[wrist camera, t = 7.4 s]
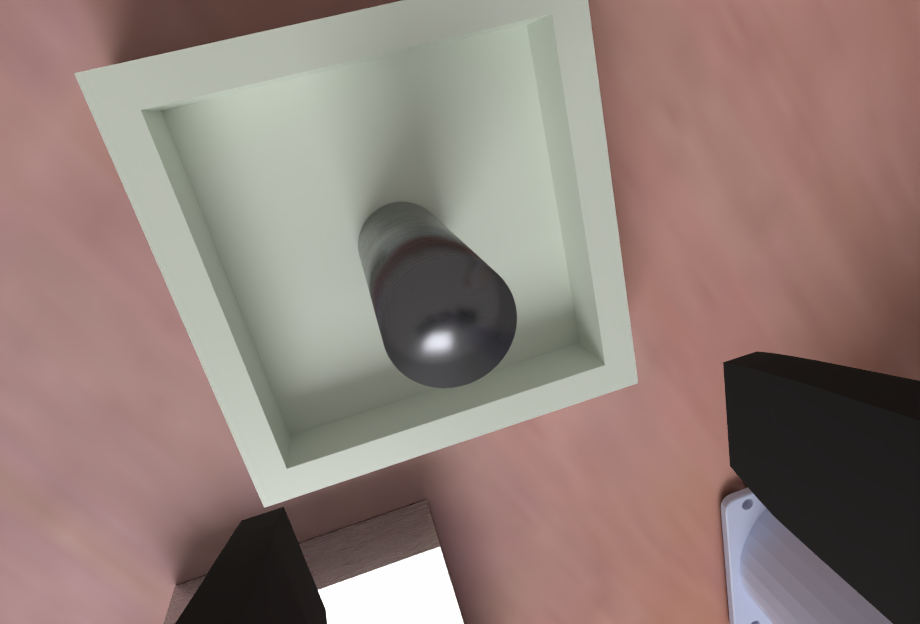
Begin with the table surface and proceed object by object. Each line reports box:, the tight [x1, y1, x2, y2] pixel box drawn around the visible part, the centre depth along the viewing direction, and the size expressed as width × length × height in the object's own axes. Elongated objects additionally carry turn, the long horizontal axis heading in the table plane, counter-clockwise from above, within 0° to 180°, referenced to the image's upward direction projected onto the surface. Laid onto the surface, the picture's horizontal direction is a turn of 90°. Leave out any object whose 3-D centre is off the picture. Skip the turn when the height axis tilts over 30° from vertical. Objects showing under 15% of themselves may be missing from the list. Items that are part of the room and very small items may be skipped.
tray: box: [74, 0, 638, 508], centre depth 17 cm, size 12×12×2 cm
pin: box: [358, 202, 517, 388], centre depth 14 cm, size 3×3×7 cm
